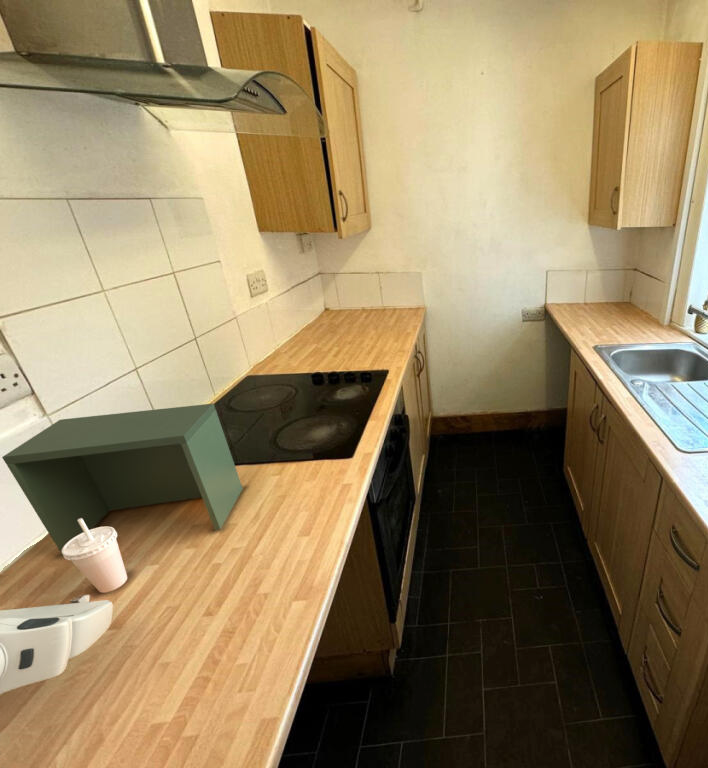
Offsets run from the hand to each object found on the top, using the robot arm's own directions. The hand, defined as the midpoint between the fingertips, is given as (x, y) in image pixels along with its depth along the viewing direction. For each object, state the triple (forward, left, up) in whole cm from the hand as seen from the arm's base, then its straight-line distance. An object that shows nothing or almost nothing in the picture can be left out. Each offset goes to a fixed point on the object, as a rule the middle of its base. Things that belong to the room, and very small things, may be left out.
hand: (39, 604), depth 59 cm
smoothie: (+2, +9, -7) cm, 11 cm away
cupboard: (+2, +25, -7) cm, 26 cm away
